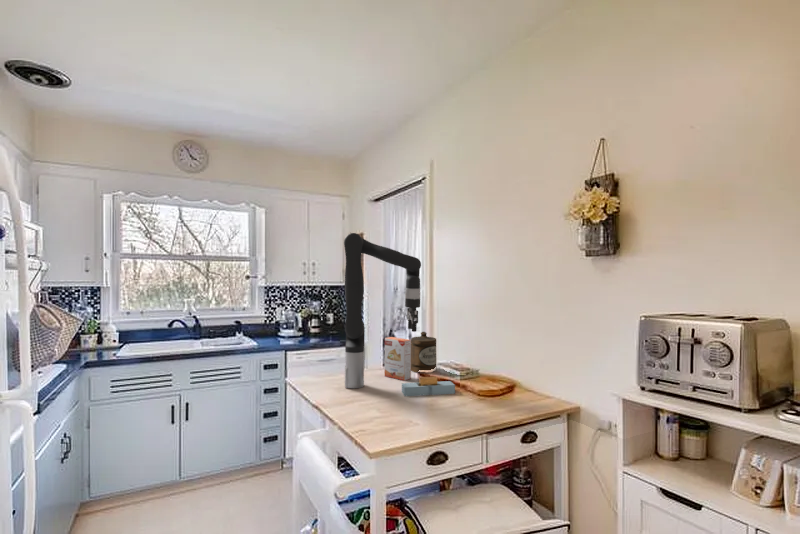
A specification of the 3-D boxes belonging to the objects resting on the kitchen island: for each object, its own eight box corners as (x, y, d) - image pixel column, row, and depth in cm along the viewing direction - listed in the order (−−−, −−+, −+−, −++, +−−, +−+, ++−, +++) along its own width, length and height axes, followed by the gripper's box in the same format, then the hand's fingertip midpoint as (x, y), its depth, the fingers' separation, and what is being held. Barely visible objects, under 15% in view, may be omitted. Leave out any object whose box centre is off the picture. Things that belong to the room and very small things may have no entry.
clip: (420, 392, 197) (420, 378, 197) (419, 391, 200) (419, 377, 200) (437, 391, 199) (437, 378, 199) (435, 390, 202) (435, 376, 202)
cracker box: (383, 376, 228) (384, 337, 228) (391, 374, 233) (391, 336, 233) (403, 381, 219) (404, 340, 219) (411, 378, 224) (411, 339, 224)
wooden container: (425, 374, 233) (425, 334, 233) (405, 370, 243) (405, 331, 243) (441, 370, 244) (441, 331, 244) (421, 365, 254) (422, 329, 254)
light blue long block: (404, 396, 193) (404, 387, 193) (401, 391, 200) (401, 383, 200) (454, 393, 198) (455, 385, 198) (450, 389, 205) (450, 381, 205)
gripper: (402, 296, 217) (402, 328, 217) (408, 298, 203) (407, 332, 203) (416, 296, 218) (416, 328, 218) (423, 298, 204) (423, 332, 204)
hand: (412, 330), depth 211 cm, fingers open, 8 cm apart
